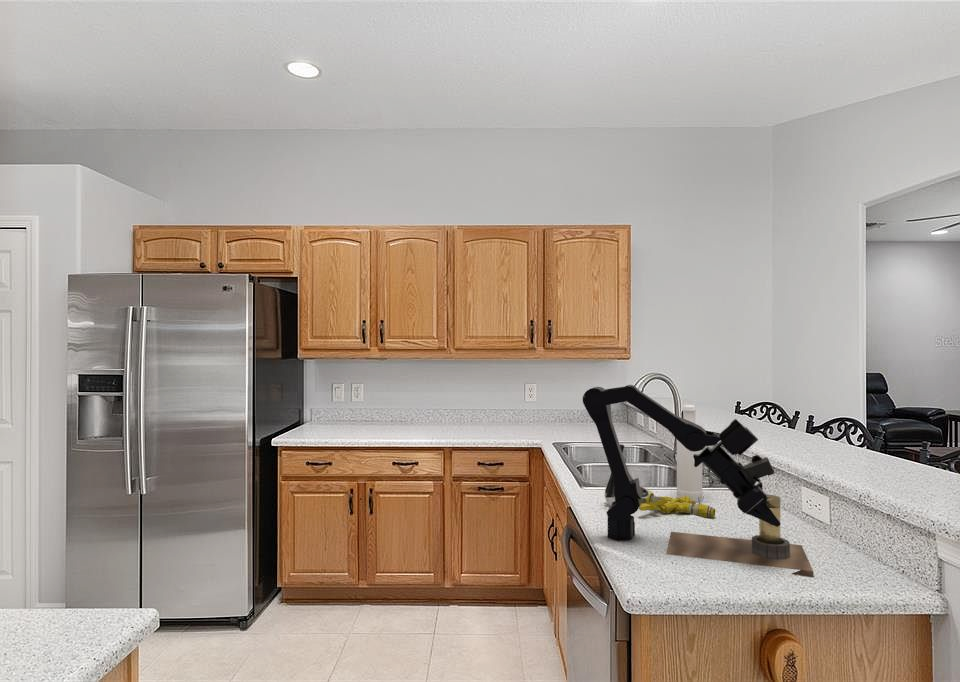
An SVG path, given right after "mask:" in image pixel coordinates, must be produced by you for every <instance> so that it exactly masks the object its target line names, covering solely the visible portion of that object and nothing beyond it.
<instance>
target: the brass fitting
mask: <svg viewBox="0 0 960 682" xmlns="http://www.w3.org/2000/svg"><path fill="white" fill-rule="evenodd" d="M766 496H767V505H768V507H769V508H770V509H771V511H772V512H773V513H774V515H775V516H776V518H777V519H778V520H779V522H780V523H781V497H780V496H778V495H773V494H766ZM758 521H759V523H758V524H759V526H758V527H759V528H758V529H759V530H758V535H759V541H760V542H763V543H767V544H774V545H778V544H780V538H781V525H779V526H778V527H776V526H774V525H772V524H769V523H767V522H765V521H763V520H761V519H759V520H758Z"/></svg>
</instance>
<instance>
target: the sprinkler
mask: <svg viewBox="0 0 960 682" xmlns="http://www.w3.org/2000/svg"><path fill="white" fill-rule="evenodd" d="M698 500H699V502H695V501H693V500H690V497H689V496H685V497H682V498H681V497H677V496H676V497H675V498H673V497H672V496H659V495H658V496H657V495H655V494H654V492H653V493H650V494H649V495H648V497H647V498H646V503H645V504H641V505H640V506H639V508H638V510H640V511H644V512H646V511H655V510H657V511H659V512H660V513H664V514H665V515H670V513H671V514H676V515H678V514H679V513H681V512H682V513H687V514H691V515H694V516H697V517H700V518H707V519H708V518H711V519H713V518H715V516H716V508H714V507H713V506H710V505H707V504H704V503H703V500H702V501H700V500H701V499H700V498H699V497H698Z"/></svg>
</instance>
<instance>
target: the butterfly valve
mask: <svg viewBox="0 0 960 682" xmlns="http://www.w3.org/2000/svg"><path fill="white" fill-rule="evenodd" d="M619 444H620V443H619ZM620 447H621V451H622V454H623V453H624V449H625V445H624V444H620ZM609 475H610V476H609V479H608V482H606V483H605V489H604V498H605V502H606V503H607V505H609V507H610V506H611V504H612V503H613V502H614V501H615V496H614V483H613V476H612V473H611V472H610V474H609ZM640 488H641V490H642V491H643V492H644V493H643V495H642V502H641V504H645V503H646V498H647V497H648V495H649V494H650V493H653V494H654V492H653V491H652V490H649V489H648V488H646V487H643V486H641V485H640ZM641 504H640V505H641Z"/></svg>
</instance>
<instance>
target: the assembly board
mask: <svg viewBox="0 0 960 682" xmlns="http://www.w3.org/2000/svg"><path fill="white" fill-rule="evenodd" d="M668 540H669V541H668V545H667V549H666V553H665V554H666V555H671V556H676V557H677V556H678V557H687V558H695V559H697V558H698V559H703V560H713V561H721V562H728V563H729V562H730V563H739V564H746V565H755V566H762V567H772V568H780V569H781V568H782V569H790V570H798V571H795V572H792V573H791V575H793V574H794V575H795V576H804V577H811V578H812V577H813V578H814V570H813V567H812V565H811V563H810V561H809V559H808V557H807V554H806V552H805V550H804V548H803V545H801V544H793V543H792V544H791V543H790V541H789V540H788V539H786V538H783V537H780V544H778V545H774V544H767V543H763V542H760V541H759V534H756V535H753V536H751V539H746V538H737V537H736V538H735V537H727V536H725V537H724V536H719V535H718V536H716V535H708V534H697V533H689V532H688V533H687V532H680V531H679V532H678V531H677V532H675V531H670V534H669V539H668Z"/></svg>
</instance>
